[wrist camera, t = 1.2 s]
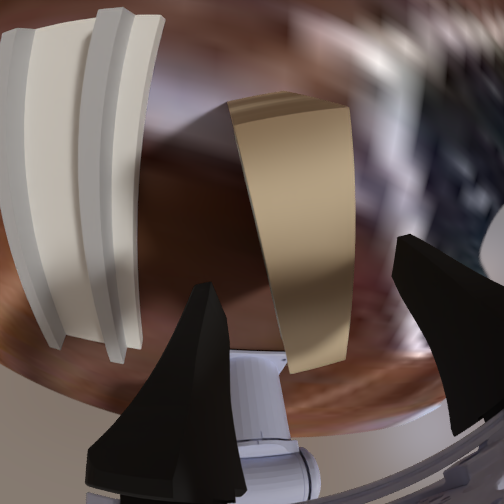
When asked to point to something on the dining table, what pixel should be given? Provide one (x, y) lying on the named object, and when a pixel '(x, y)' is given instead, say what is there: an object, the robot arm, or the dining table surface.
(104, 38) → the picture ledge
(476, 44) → the dining table surface
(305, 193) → the oak frame
